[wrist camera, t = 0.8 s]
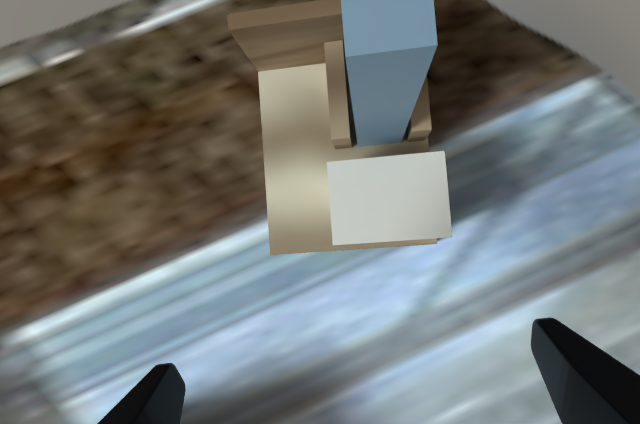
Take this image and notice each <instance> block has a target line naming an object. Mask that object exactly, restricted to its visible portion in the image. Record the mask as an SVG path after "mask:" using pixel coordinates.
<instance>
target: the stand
mask: <svg viewBox="0 0 640 424" xmlns="http://www.w3.org/2000/svg"><path fill="white" fill-rule="evenodd" d="M434 2H435V0H434ZM227 15H228V30H229V32H230V33H231V34H232V36H233V37H234V39H235V40H236V41H237V43H238V44H239V46H240V47H241V48H242V50H243V51H244V52H245V54H246V55H247V57H248V58H249V59H250V61H251V62H252V64H253V65H254V66H255V68H256V69H257V71H258V76H259V91H260V106H261V121H262V136H263V151H264V167H265V182H266V197H267V212H268V227H269V242H270V255H277V254H292V253H307V252H322V251H337V250H353V249H368V248H383V247H398V246H413V245H428V244H437V238H435V239H420V240H405V241H390V242H375V243H361V244H346V245H333V242H332V229H331V215H330V202H329V188H328V175H327V162H332V161H342V160H353V159H363V158H374V157H384V156H395V155H405V154H415V153H426V152H429V143H428V135H429V133H430V131H431V130H432V127H431V116H430V104H429V93H428V82H427V75H426V77H425V80H424V83H423V85H422V88H421V91H420V93H419V96H418V99H417V101H416V104H415V107H414V109H413V112H412V115H411V117H410V120H409V123H408V125H407V128H406V131H405V133H404V136H403V139H402V141H401V143H395V144H385V145H375V146H364V147H358V143H357V136H356V129H355V122H354V115H353V108H352V101H351V94H350V87H349V80H348V73H347V66H346V58H345V47H344V34H343V21H342V8H341V0H318V1H311V2H305V3H298V4H291V5H285V6H278V7H271V8H265V9H258V10H251V11H245V12H238V13H231V14H227Z"/></svg>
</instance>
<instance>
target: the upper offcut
mask: <svg viewBox="0 0 640 424" xmlns="http://www.w3.org/2000/svg"><path fill="white" fill-rule="evenodd" d="M327 175H328V188H329V202H330V215H331V229H332V242H333V245H346V244H361V243H375V242H390V241H405V240H420V239H435V238H449V237H452V227H451V216H450V205H449V194H448V183H447V172H446V160H445V151H436V152H426V153H415V154H405V155H395V156H384V157H374V158H363V159H353V160H342V161H332V162H327Z"/></svg>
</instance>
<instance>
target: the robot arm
mask: <svg viewBox="0 0 640 424" xmlns="http://www.w3.org/2000/svg"><path fill="white" fill-rule="evenodd" d="M531 349H532V353H533V355H534V358H535V360H536V362H537V365H538V367H539V370H540V372H541V375H542V377H543V379H544V382H545V384H546V387H547V389H548V392H549V394H550V396H551V399H552V401H553V404H554V406H555V409H556V411H557V413H558V415H559V418H560V420H561V422H562V424H640V375H638V374H637V373H635V372H634V371H632V370H631V369H629V368H628V367H627V366H625V365H624V364H622V363H621V362H619V361H618V360H616V359H615V358H613V357H612V356H610V355H609V354H607V353H606V352H604V351H603V350H601V349H600V348H598V347H597V346H595V345H594V344H592V343H591V342H589V341H588V340H586V339H585V338H583V337H582V336H580V335H579V334H577V333H576V332H574V331H573V330H571V329H570V328H568V327H567V326H565V325H564V324H562V323H561V322H559V321H558V320H556V319H554V318H542V319H536V320H534V322H533V325H532V336H531ZM184 396H185V383H184V381H183V379H182V377H181V375H180V374H179V372H178V370H177V368H176V367H175V365H174V364H172V363H166V364H159V365H156V366H155V367H154V368H153V369H152V370H151V371H150V372H149V373H148V374H147V375H146V376H145V377H144V378H143V379H142V380H141V381H140V382H139V383H138V384H137V385H136V386H135V387H134V388H133V389H132V390H131V391H130V392H129V393H128V394H127V395H126V396H125V397H124V398H123V399H122V400H121V401H120V402H119V403H118V404H117V405H116V406H115V407H114V408H113V409H112V410H111V411H110V412H109V413H108V414H107V415H106V416H105V417H104V418H103V419H102V420H101V421H100V422H99V423H98V424H180V419H181V413H182V408H183V402H184Z"/></svg>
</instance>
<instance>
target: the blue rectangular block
mask: <svg viewBox="0 0 640 424" xmlns="http://www.w3.org/2000/svg"><path fill="white" fill-rule="evenodd" d="M341 8H342V21H343V34H344V47H345V58H346V66H347V73H348V80H349V87H350V94H351V101H352V108H353V115H354V122H355V129H356V136H357V143H358V147H364V146H375V145H385V144H395V143H401V141H402V139H403V136H404V133H405V131H406V128H407V125H408V123H409V120H410V117H411V115H412V112H413V109H414V107H415V104H416V101H417V99H418V96H419V93H420V91H421V88H422V85H423V83H424V80H425V77H426V75H427V72H428V69H429V67H430V64H431V61H432V59H433V56H434V53H435V51H436V48H437V45H438V43H437V32H436V21H435V10H434V0H341Z"/></svg>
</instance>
